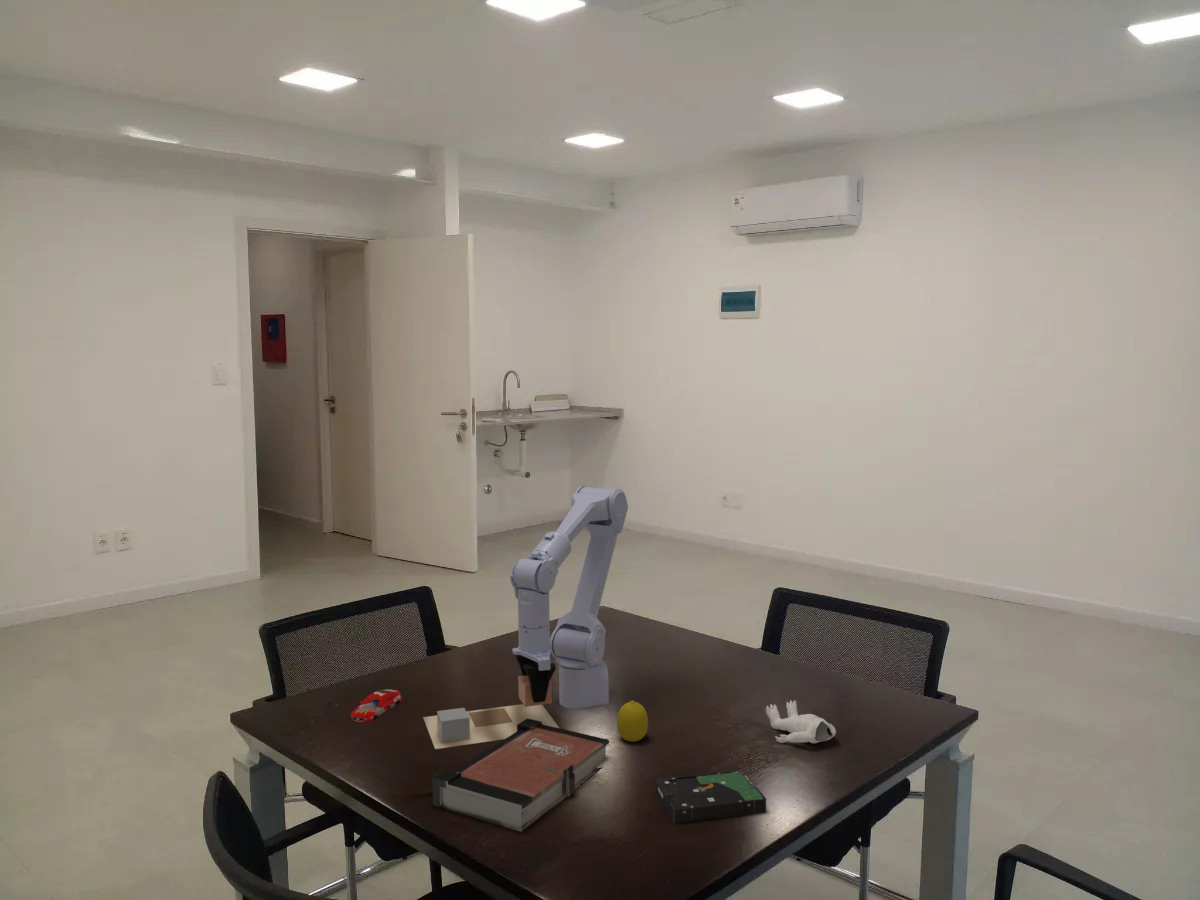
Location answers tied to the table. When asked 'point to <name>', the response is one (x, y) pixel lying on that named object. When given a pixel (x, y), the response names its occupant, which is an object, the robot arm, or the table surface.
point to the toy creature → (800, 725)
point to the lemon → (632, 721)
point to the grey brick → (453, 725)
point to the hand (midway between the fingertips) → (535, 695)
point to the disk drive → (710, 796)
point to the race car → (376, 705)
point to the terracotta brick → (526, 692)
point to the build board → (492, 724)
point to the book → (520, 775)
